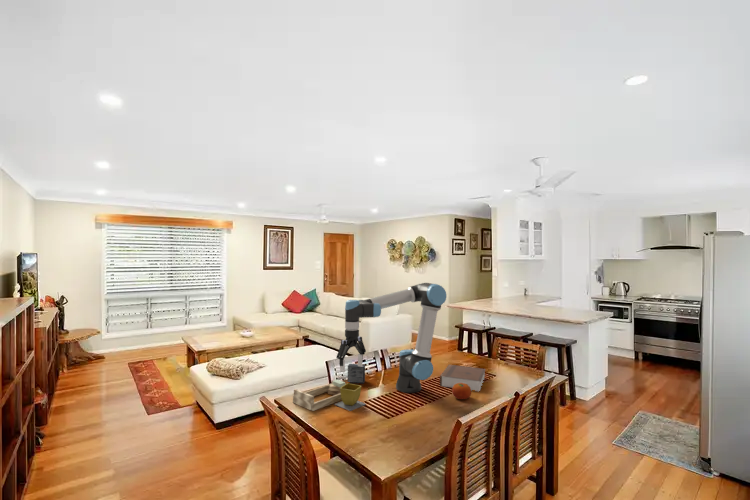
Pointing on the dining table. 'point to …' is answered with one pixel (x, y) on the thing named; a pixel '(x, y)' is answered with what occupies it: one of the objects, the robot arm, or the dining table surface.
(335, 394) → the offcut walnut
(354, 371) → the small box
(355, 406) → the felt mat
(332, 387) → the offcut oak
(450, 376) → the book
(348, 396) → the flower pot
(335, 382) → the offcut sage
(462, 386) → the fruit
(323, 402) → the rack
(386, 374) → the dining table surface
